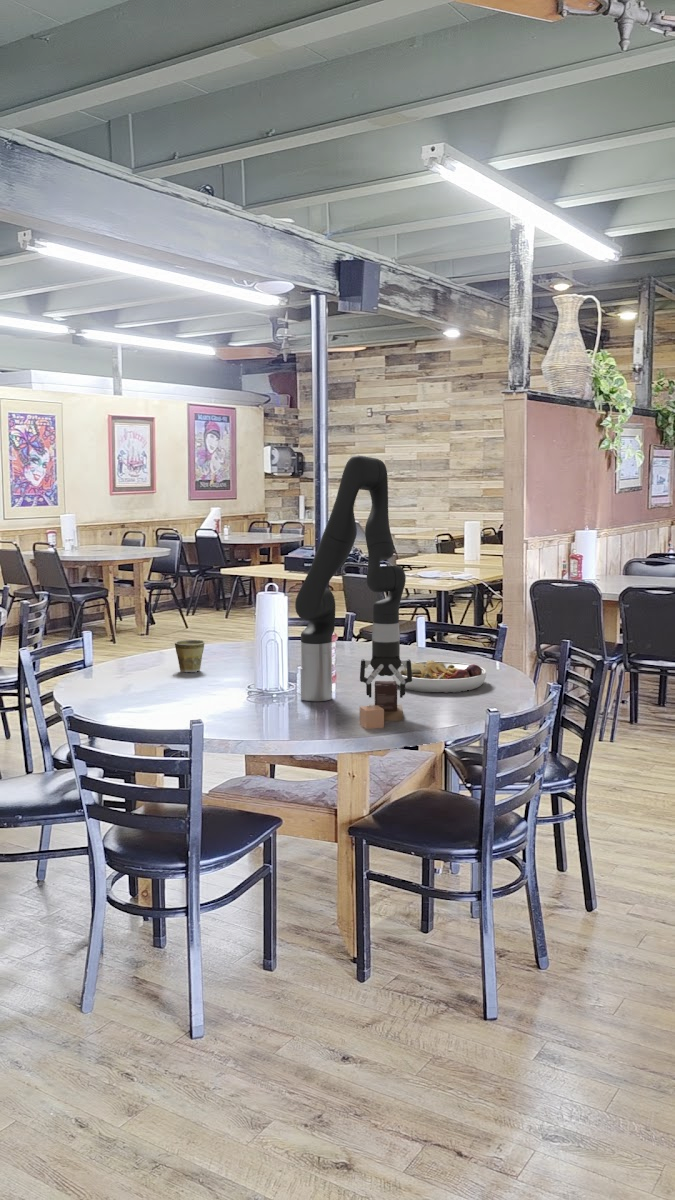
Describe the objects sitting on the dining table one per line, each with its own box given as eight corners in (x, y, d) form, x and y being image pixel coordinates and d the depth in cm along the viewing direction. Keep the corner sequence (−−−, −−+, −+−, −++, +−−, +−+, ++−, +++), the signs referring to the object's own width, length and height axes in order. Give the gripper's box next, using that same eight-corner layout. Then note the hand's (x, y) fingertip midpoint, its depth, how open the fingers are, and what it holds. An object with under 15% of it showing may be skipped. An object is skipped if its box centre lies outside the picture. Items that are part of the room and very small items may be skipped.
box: (396, 706, 280) (396, 680, 279) (397, 711, 274) (397, 685, 273) (374, 706, 280) (374, 680, 279) (375, 711, 274) (375, 684, 273)
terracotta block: (366, 729, 265) (366, 710, 264) (359, 725, 269) (359, 706, 269) (383, 727, 266) (383, 709, 265) (377, 723, 271) (377, 705, 270)
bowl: (375, 689, 315) (375, 665, 314) (414, 673, 341) (414, 650, 340) (465, 699, 301) (466, 673, 300) (499, 681, 327) (499, 657, 326)
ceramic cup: (202, 674, 339) (202, 644, 338) (173, 673, 339) (172, 644, 338) (208, 666, 352) (207, 638, 350) (179, 666, 352) (179, 638, 351)
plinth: (369, 723, 273) (370, 712, 273) (369, 715, 282) (369, 704, 282) (403, 723, 273) (403, 712, 273) (401, 715, 282) (401, 705, 282)
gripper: (359, 641, 271) (359, 700, 273) (412, 641, 271) (412, 700, 273) (359, 636, 279) (359, 694, 281) (411, 636, 278) (411, 694, 280)
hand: (385, 697), depth 277 cm, fingers open, 8 cm apart
